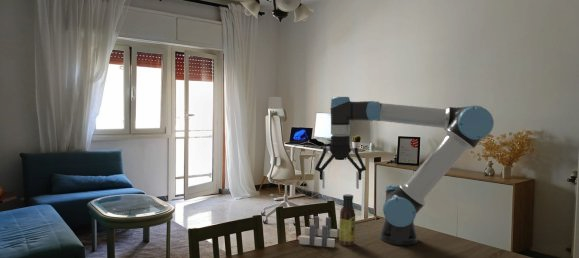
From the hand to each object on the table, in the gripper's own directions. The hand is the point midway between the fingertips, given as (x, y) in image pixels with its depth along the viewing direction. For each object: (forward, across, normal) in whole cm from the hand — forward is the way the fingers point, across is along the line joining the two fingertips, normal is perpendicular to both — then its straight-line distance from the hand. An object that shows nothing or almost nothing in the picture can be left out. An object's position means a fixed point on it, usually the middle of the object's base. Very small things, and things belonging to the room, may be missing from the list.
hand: (340, 187), depth 159 cm
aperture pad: (+22, +14, -3) cm, 26 cm away
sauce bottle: (+23, -2, 0) cm, 23 cm away
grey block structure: (+22, +9, -2) cm, 24 cm away
